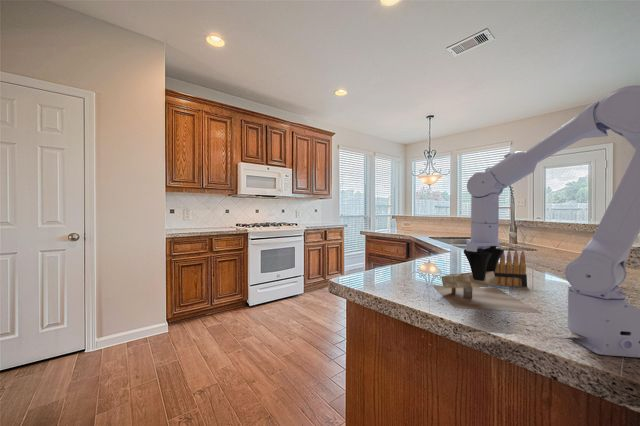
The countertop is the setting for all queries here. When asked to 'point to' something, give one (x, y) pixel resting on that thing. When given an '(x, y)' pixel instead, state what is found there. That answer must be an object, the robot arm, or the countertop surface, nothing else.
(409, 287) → the countertop surface
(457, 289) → the post board
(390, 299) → the countertop surface
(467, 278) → the beige rectangular block
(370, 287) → the countertop surface
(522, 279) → the ammunition clip
